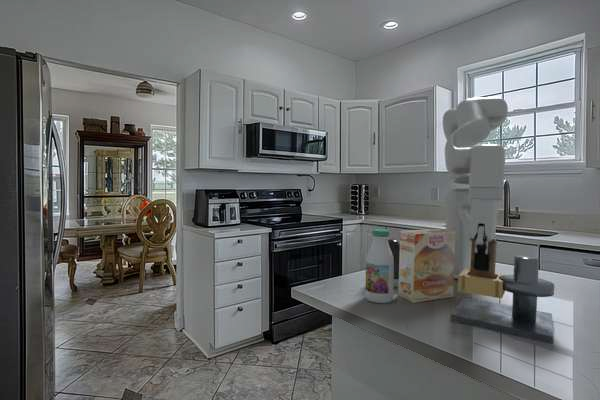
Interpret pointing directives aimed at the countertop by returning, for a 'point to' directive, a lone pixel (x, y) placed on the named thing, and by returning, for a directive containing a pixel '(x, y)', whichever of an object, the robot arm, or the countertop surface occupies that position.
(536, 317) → the ringlock post
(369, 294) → the milk bottle
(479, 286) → the ochre bracket
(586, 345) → the countertop surface
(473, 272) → the walnut wedge
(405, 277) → the coffeecake box
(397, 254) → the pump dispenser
